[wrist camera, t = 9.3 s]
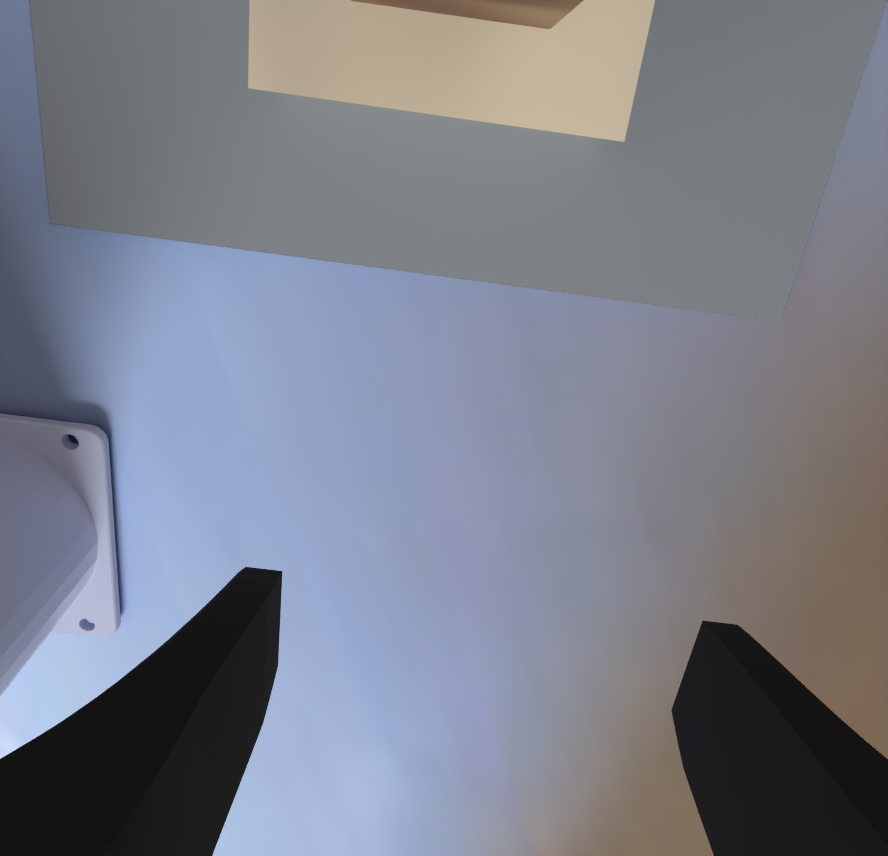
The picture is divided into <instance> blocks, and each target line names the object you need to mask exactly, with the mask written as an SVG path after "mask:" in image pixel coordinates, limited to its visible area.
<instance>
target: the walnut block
mask: <svg viewBox="0 0 888 856" xmlns="http://www.w3.org/2000/svg"><path fill="white" fill-rule="evenodd" d="M351 1H355V2H362V3H369V4H376V5H383V6H390V7H397V8H404V9H411V10H418V11H425V12H432V13H439V14H446V15H453V16H460V17H467V18H474V19H481V20H488V21H495V22H502V23H509V24H516V25H523V26H530V27H537V28H544V29H551V28H552V27H553V26H554V25H556V24H557V23H558V22H559V21H560V20H561V19H563V18H564V17H565V16H566V15H567V14H568V13H570V12H571V11H572V10H573V9H574V8H575V7H577V6H578V5H579V4H580V3H581V2H582V1H584V0H351Z"/></svg>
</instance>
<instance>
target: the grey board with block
mask: <svg viewBox="0 0 888 856" xmlns="http://www.w3.org/2000/svg"><path fill="white" fill-rule="evenodd" d="M886 2H887V0H584V1H582V2H581V3H580V4H579V5H578V6H577V7H575V8H574V9H573V10H572V11H571V12H570V13H568V14H567V15H566V16H565V17H564V18H563V19H561V20H560V21H559V22H558V23H557V24H556V25H554V26H553V27H552V28H551V29H544V28H537V27H530V26H523V25H516V24H509V23H502V22H495V21H488V20H481V19H474V18H467V17H460V16H453V15H446V14H439V13H432V12H425V11H418V10H411V9H404V8H397V7H390V6H383V5H376V4H369V3H362V2H355V1H351V0H29V3H30V14H31V24H32V35H33V46H34V57H35V68H36V78H37V89H38V100H39V111H40V122H41V133H42V143H43V154H44V165H45V176H46V187H47V198H48V208H49V219H50V224H56V225H64V226H71V227H79V228H86V229H94V230H101V231H108V232H116V233H123V234H131V235H138V236H146V237H153V238H161V239H168V240H175V241H183V242H190V243H198V244H205V245H213V246H220V247H228V248H235V249H242V250H250V251H257V252H265V253H272V254H280V255H287V256H295V257H302V258H309V259H317V260H324V261H332V262H339V263H347V264H354V265H362V266H369V267H376V268H384V269H391V270H399V271H406V272H414V273H421V274H428V275H436V276H443V277H451V278H458V279H466V280H473V281H481V282H488V283H495V284H503V285H510V286H518V287H525V288H533V289H540V290H548V291H555V292H562V293H570V294H577V295H585V296H592V297H600V298H607V299H615V300H622V301H629V302H637V303H644V304H652V305H659V306H667V307H674V308H682V309H689V310H696V311H704V312H711V313H719V314H726V315H734V316H741V317H749V318H756V319H763V320H771V321H778V322H780V321H781V318H782V315H783V312H784V309H785V306H786V303H787V300H788V297H789V294H790V291H791V288H792V285H793V282H794V279H795V276H796V273H797V270H798V267H799V264H800V261H801V258H802V255H803V252H804V249H805V246H806V243H807V240H808V237H809V234H810V231H811V228H812V225H813V222H814V219H815V216H816V213H817V210H818V207H819V204H820V201H821V198H822V195H823V192H824V189H825V186H826V183H827V180H828V177H829V174H830V171H831V168H832V165H833V162H834V159H835V156H836V153H837V150H838V147H839V144H840V141H841V138H842V135H843V132H844V129H845V126H846V123H847V119H848V116H849V113H850V110H851V107H852V104H853V101H854V98H855V95H856V92H857V89H858V86H859V83H860V80H861V77H862V74H863V71H864V68H865V65H866V62H867V59H868V56H869V53H870V50H871V47H872V44H873V41H874V38H875V35H876V32H877V29H878V26H879V23H880V20H881V17H882V14H883V11H884V8H885V5H886Z"/></svg>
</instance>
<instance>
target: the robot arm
mask: <svg viewBox="0 0 888 856" xmlns="http://www.w3.org/2000/svg"><path fill="white" fill-rule="evenodd" d="M68 434H70V435H73V436H75V437H76V438H77V439H78V442H79V444H74V443H72V442H71V441H70V440H69V438H68ZM281 586H282V571H275V570H267V569H258V568H250V567H245V568H244V569H242V570H241V571H240V572H238V573H237V574H236V576H235V577H234V578H233V579H232V580H231V581H230V582H229V583H228V584H227V585H226V586H225V587H224V588H223V589H222V590H221V591H220V592H219V593H218V594H217V595H216V596H215V597H214V598H213V599H212V600H211V601H210V602H209V603H208V604H207V605H206V606H204V607H203V608H202V609H201V610H200V611H199V612H198V613H197V614H196V615H195V616H194V617H193V618H192V619H191V620H190V621H189V622H187V623H186V624H185V625H184V626H183V627H182V628H181V629H180V630H179V631H177V632H176V633H175V634H174V635H173V636H172V637H171V638H170V639H169V640H168V641H166V642H165V643H164V644H163V645H162V646H161V647H160V648H158V649H157V650H156V651H155V652H154V653H152V654H151V655H150V656H149V657H147V658H146V659H145V660H144V661H142V662H141V663H140V664H139V665H138V666H136V667H135V668H134V669H133V670H131V671H130V672H129V673H128V674H126V675H125V676H124V677H123V678H122V679H120V680H119V681H118V682H116V683H115V684H114V685H112V686H111V687H110V688H108V689H107V690H106V691H104V692H103V693H102V694H100V695H99V696H98V697H96V698H95V699H94V700H92V701H91V702H89V703H88V704H87V705H85V706H84V707H82V708H81V709H79V710H78V711H76V712H75V713H73V714H72V715H71V716H69V717H68V718H66V719H65V720H63V721H62V722H60V723H59V724H57V725H56V726H54V727H52V728H51V729H49V730H48V731H46V732H44V733H43V734H41V735H40V736H38V737H36V738H35V739H33V740H31V741H30V742H28V743H26V744H25V745H23V746H21V747H20V748H18V749H16V750H15V751H13V752H11V753H10V754H8V755H6V756H5V757H3V758H1V759H0V856H212V855H213V852H214V849H215V847H216V844H217V841H218V839H219V836H220V834H221V831H222V828H223V826H224V823H225V821H226V818H227V816H228V813H229V810H230V808H231V805H232V803H233V800H234V797H235V795H236V792H237V790H238V787H239V785H240V782H241V779H242V777H243V774H244V772H245V769H246V766H247V764H248V761H249V759H250V756H251V753H252V751H253V748H254V745H255V743H256V740H257V738H258V735H259V732H260V730H261V727H262V724H263V721H264V717H265V714H266V710H267V706H268V702H269V699H270V695H271V691H272V687H273V683H274V679H275V675H276V671H277V667H278V652H279V630H280V608H281ZM86 619H89V620H91V621H92V622H93V623H90V622H88V621H87V620H86ZM120 623H121V618H120V604H119V589H118V574H117V560H116V545H115V530H114V515H113V501H112V486H111V471H110V457H109V442H108V438H107V435H106V434H105V433H104V431H103V430H102V429H100V428H99V427H97V426H94V425H90V424H82V423H74V422H66V421H57V420H49V419H41V418H33V417H25V416H17V415H9V414H1V413H0V696H1V695H2V694H3V692H4V691H5V690H6V688H7V687H8V686H9V685H10V683H11V682H12V681H13V679H14V678H15V677H16V676H17V674H18V673H19V672H20V670H21V669H22V668H23V667H24V665H25V664H26V663H27V661H28V660H29V659H30V658H31V656H32V655H33V654H34V652H35V651H36V650H37V649H38V647H39V646H40V645H41V643H42V642H43V641H44V640H45V638H46V637H47V636H48V634H49V633H50V632H51V631H54V632H63V633H72V634H81V635H90V636H98V637H110V636H112V635H114V633H115V632H116V631H117V630H118V628H119V626H120ZM672 715H673V720H674V725H675V730H676V736H677V741H678V745H679V750H680V754H681V758H682V763H683V767H684V771H685V774H686V777H687V780H688V783H689V786H690V789H691V791H692V794H693V797H694V800H695V803H696V806H697V809H698V812H699V815H700V818H701V820H702V823H703V826H704V829H705V832H706V834H707V837H708V840H709V843H710V846H711V849H712V851H713V854H714V856H888V759H886V758H885V757H884V756H883V755H882V754H880V753H879V752H878V751H877V750H876V749H875V748H873V747H872V746H871V745H870V744H869V743H867V742H866V741H865V740H864V739H863V738H862V737H860V736H859V735H858V734H857V733H856V732H855V731H854V730H852V729H851V728H850V727H849V726H848V725H847V724H846V723H844V722H843V721H842V720H841V719H840V718H839V717H838V716H837V715H836V714H834V713H833V712H832V711H831V710H830V709H829V708H828V707H827V706H826V705H825V704H824V703H822V702H821V701H820V700H819V699H818V698H817V697H816V696H815V695H814V694H813V693H812V692H810V691H809V690H808V689H807V688H806V687H805V686H804V685H803V684H802V683H801V682H800V681H799V680H798V679H797V678H796V677H794V676H793V675H792V674H791V673H790V672H789V671H788V670H787V669H786V668H785V667H784V666H783V665H782V664H781V663H780V662H778V661H777V660H776V659H775V658H774V657H773V656H772V655H771V654H770V653H769V652H768V651H767V650H766V649H765V648H763V647H762V646H761V645H760V644H759V643H758V642H757V641H756V640H755V639H754V638H752V637H751V636H750V635H749V634H748V633H747V632H746V631H744V630H743V629H742V628H741V627H740V626H738V625H734V624H726V623H717V622H709V621H702V624H701V627H700V630H699V633H698V636H697V638H696V641H695V644H694V647H693V650H692V653H691V656H690V659H689V661H688V664H687V667H686V670H685V673H684V676H683V679H682V682H681V684H680V687H679V690H678V693H677V696H676V699H675V702H674V705H673V707H672Z"/></svg>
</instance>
